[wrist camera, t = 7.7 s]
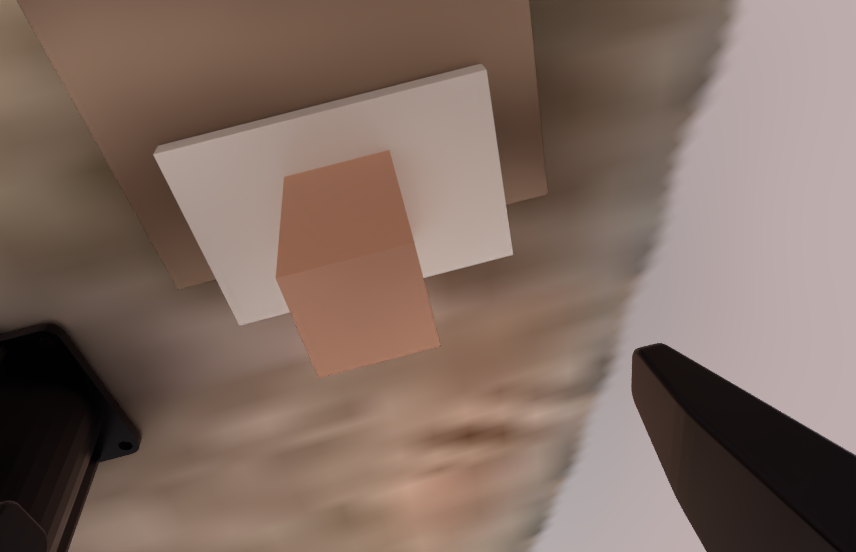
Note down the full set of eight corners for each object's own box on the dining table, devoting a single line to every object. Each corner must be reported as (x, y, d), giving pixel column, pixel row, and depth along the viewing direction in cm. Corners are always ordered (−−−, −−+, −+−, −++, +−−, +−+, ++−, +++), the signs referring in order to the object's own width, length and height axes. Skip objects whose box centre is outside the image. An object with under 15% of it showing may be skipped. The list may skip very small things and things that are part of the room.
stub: (507, 244, 20) (566, 359, 16) (241, 314, 20) (220, 450, 15) (481, 63, 17) (546, 141, 12) (157, 145, 16) (99, 256, 12)
